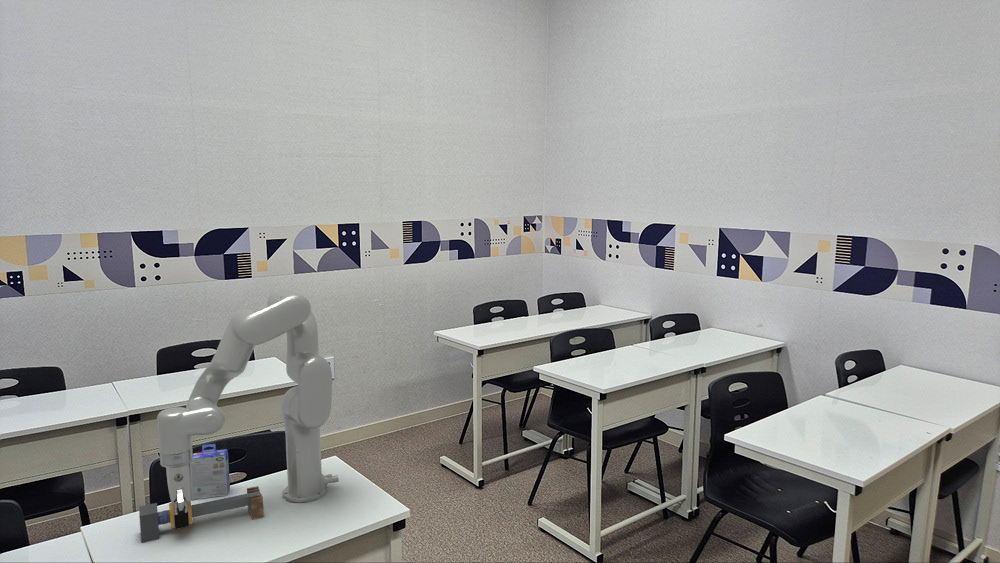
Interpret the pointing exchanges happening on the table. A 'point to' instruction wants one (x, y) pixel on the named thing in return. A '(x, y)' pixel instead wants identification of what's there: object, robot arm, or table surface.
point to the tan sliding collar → (172, 512)
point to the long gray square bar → (215, 506)
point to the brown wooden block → (256, 504)
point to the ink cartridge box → (209, 473)
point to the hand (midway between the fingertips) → (181, 519)
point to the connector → (149, 522)
